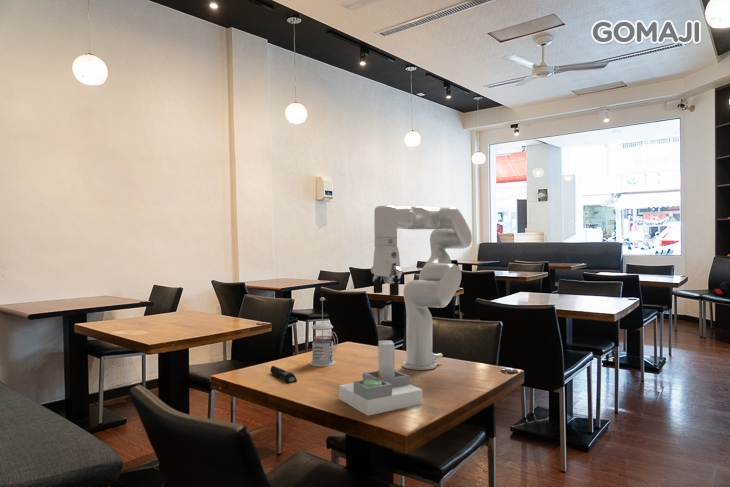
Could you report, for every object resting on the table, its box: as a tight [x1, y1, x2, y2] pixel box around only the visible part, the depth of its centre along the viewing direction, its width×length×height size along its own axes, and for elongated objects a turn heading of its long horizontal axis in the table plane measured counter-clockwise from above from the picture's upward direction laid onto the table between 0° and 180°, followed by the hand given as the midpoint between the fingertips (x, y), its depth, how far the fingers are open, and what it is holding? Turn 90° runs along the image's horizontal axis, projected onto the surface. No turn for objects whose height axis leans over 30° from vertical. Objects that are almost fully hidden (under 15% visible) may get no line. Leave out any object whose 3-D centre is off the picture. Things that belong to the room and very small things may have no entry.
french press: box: [309, 296, 339, 367], centre depth 183 cm, size 10×12×25 cm
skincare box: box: [377, 339, 396, 379], centre depth 144 cm, size 6×4×12 cm
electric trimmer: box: [270, 365, 298, 385], centre depth 164 cm, size 4×16×3 cm, turn 35°
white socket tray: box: [338, 369, 423, 416], centre depth 139 cm, size 18×16×7 cm
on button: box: [363, 380, 382, 387], centre depth 133 cm, size 5×5×3 cm
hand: (385, 294), depth 162 cm, fingers open, 9 cm apart
